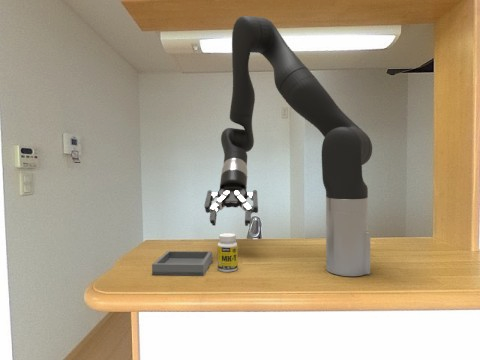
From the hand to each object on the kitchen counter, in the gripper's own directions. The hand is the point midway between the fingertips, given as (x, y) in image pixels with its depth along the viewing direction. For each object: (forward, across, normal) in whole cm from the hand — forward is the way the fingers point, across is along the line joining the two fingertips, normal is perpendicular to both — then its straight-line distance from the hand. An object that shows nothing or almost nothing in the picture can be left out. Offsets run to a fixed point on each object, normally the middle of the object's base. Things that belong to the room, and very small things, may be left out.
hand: (229, 223), depth 86 cm
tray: (+10, -11, +4) cm, 16 cm away
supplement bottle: (+11, 0, +3) cm, 12 cm away
